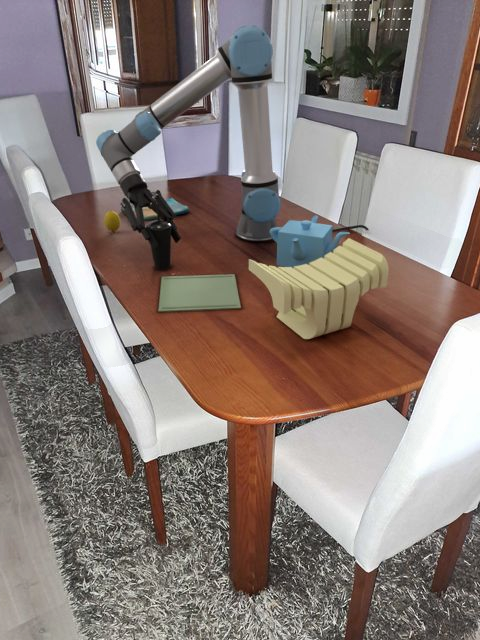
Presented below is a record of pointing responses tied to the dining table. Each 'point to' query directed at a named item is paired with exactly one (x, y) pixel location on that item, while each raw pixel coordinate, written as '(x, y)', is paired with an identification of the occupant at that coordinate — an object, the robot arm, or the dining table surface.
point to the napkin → (198, 293)
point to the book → (150, 214)
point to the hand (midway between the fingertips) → (167, 244)
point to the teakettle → (303, 242)
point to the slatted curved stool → (323, 288)
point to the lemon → (112, 221)
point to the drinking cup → (161, 242)
